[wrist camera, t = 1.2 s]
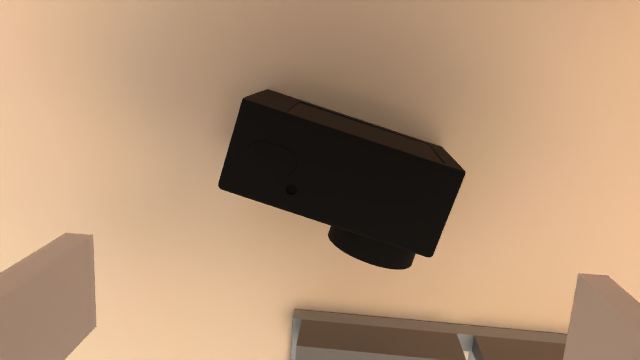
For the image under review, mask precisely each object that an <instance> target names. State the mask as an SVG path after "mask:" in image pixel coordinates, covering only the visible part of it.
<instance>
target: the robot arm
mask: <svg viewBox="0 0 640 360" xmlns="http://www.w3.org/2000/svg"><path fill="white" fill-rule="evenodd" d="M95 327H96V304H95V276H94V248H93V235H86V234H73V233H65V234H63V235H62V236H60V237H58V238H57V239H55V240H54V241H52V242H50V243H49V244H47V245H45V246H44V247H42V248H40V249H39V250H37V251H36V252H34V253H32V254H31V255H29V256H27V257H26V258H24V259H22V260H21V261H19V262H18V263H16V264H14V265H13V266H11V267H9V268H8V269H6V270H4V271H3V272H1V273H0V360H65V358H66V357H67V356H68V355H69V354H70V353H71V352H72V351H73V350H74V349H75V348H76V347H77V346H78V345H79V344H80V343H81V342H82V341H83V340H84V339H85V338H86V337H87V336H88V334H89V333H90V332H91V331H92V330H93V329H94V328H95ZM563 360H640V303H639V302H638V301H637V300H635V299H634V298H633V297H632V296H631V295H630V294H629V293H627V292H626V291H625V290H624V289H623V288H622V287H620V286H619V285H618V284H617V283H616V282H615V281H614V280H612V279H611V278H610V277H609V276H606V275H593V274H581V273H578V278H577V284H576V289H575V295H574V301H573V306H572V312H571V317H570V323H569V329H568V334H567V340H566V346H565V351H564V357H563Z"/></svg>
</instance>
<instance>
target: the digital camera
mask: <svg viewBox="0 0 640 360" xmlns="http://www.w3.org/2000/svg"><path fill="white" fill-rule="evenodd" d="M464 176H465V171H464V169H463V168H462V167H461V166H460V165H459V164H458V163H457V162H456V161H455V160H454V159H453V158H452V157H451V156H450V155H449V154H448V153H447V152H446V151H445V150H444V148H443V147H441V146H437V145H434V144H431V143H428V142H425V141H422V140H419V139H416V138H413V137H410V136H407V135H404V134H401V133H398V132H395V131H392V130H389V129H386V128H383V127H380V126H377V125H374V124H371V123H368V122H365V121H362V120H359V119H356V118H353V117H350V116H347V115H344V114H341V113H338V112H335V111H332V110H329V109H326V108H323V107H320V106H317V105H314V104H311V103H308V102H305V101H302V100H299V99H296V98H293V97H289V96H286V95H283V94H280V93H277V92H274V91H271V90H268V89H267V90H264V91H261V92H258V93H255V94H253V95H250V96H247V97H244V98H243V100H242V103H241V106H240V110H239V113H238V117H237V120H236V124H235V127H234V131H233V134H232V138H231V141H230V145H229V148H228V152H227V155H226V159H225V162H224V166H223V169H222V173H221V176H220V180H219V184H218V186H219V188H220V189H222V190H225V191H228V192H231V193H234V194H237V195H240V196H243V197H246V198H249V199H252V200H255V201H258V202H261V203H264V204H267V205H270V206H273V207H276V208H279V209H282V210H285V211H289V212H292V213H295V214H298V215H301V216H304V217H307V218H310V219H313V220H316V221H319V222H322V223H325V224H328V225H331V228H330V230H329V233H328V237H329V239H330V241H331V242H332V243H333V244H334V245H335V246H336V247H338V248H339V249H340V250H342V251H343V252H345V253H347V254H348V255H350V256H352V257H354V258H356V259H359V260H361V261H364V262H366V263H369V264H372V265H375V266H379V267H383V268H388V269H406V268H409V267H410V266H411V265H412V262H413V259H414V257H415V254H419V255H422V256H425V257H432V256H433V254H434V251H435V249H436V246H437V244H438V241H439V239H440V236H441V234H442V231H443V229H444V226H445V224H446V221H447V219H448V216H449V214H450V211H451V208H452V206H453V203H454V201H455V198H456V196H457V193H458V191H459V188H460V186H461V183H462V181H463V178H464Z"/></svg>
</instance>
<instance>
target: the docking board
mask: <svg viewBox="0 0 640 360" xmlns="http://www.w3.org/2000/svg"><path fill="white" fill-rule="evenodd" d="M566 340H567V334H560V333H549V332H538V331H527V330H516V329H505V328H494V327H483V326H473V325H462V324H451V323H440V322H429V321H418V320H407V319H396V318H386V317H375V316H364V315H353V314H342V313H331V312H320V311H309V310H299V309H295V313H294V317H293V331H292V347H291V360H563V357H564V351H565V346H566Z"/></svg>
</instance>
